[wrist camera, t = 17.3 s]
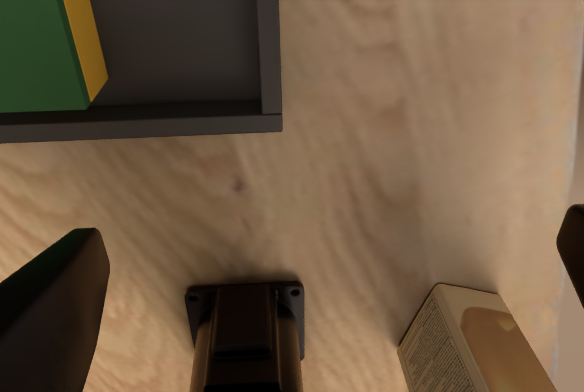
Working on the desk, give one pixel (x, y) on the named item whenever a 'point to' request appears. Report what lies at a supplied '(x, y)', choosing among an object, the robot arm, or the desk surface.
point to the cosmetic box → (469, 346)
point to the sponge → (49, 55)
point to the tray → (173, 74)
